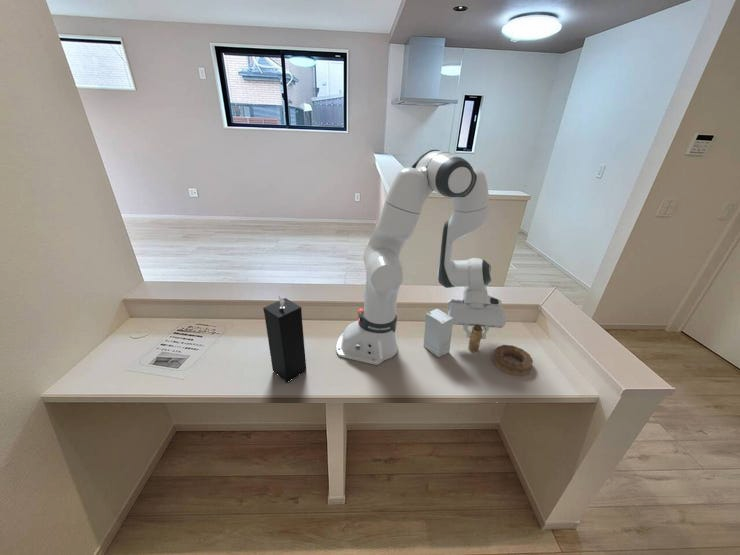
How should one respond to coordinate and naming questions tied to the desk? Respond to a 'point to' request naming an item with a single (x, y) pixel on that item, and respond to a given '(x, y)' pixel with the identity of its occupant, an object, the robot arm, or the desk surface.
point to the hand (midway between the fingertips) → (476, 338)
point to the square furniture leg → (285, 338)
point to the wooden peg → (475, 338)
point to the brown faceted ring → (510, 366)
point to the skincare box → (438, 332)
